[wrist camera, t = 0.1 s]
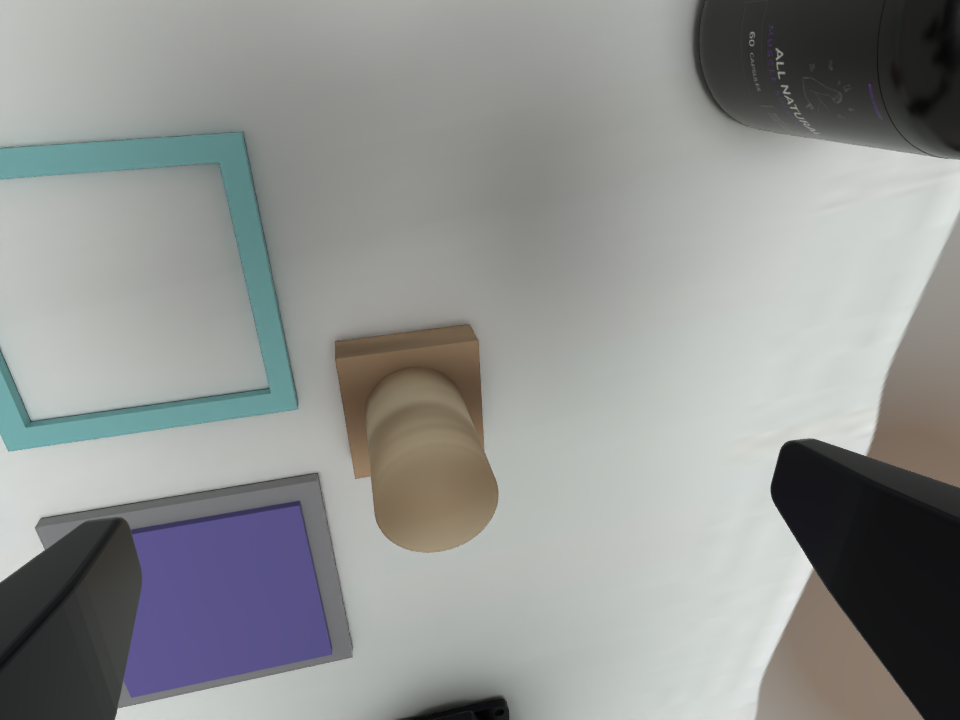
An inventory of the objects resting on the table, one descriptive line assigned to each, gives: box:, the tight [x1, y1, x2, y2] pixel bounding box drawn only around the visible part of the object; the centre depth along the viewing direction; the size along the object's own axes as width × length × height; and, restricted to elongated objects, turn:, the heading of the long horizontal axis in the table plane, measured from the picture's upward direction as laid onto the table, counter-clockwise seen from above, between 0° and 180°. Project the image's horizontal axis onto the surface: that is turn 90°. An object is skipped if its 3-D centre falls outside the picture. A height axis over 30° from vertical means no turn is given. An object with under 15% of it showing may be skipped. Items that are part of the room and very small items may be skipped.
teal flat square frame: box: [0, 132, 298, 451], centre depth 20 cm, size 10×10×1 cm
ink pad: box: [35, 473, 353, 708], centre depth 25 cm, size 10×10×1 cm
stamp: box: [335, 324, 498, 553], centre depth 21 cm, size 5×5×7 cm
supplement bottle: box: [699, 0, 960, 160], centre depth 16 cm, size 7×7×12 cm
